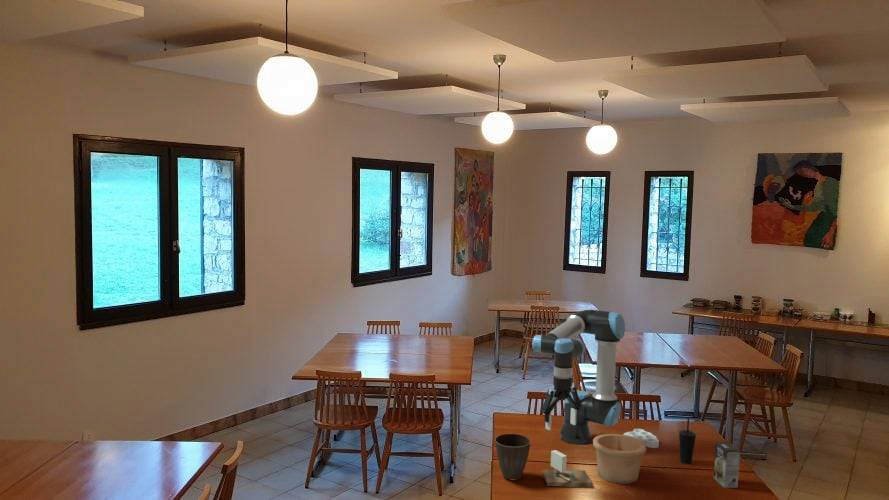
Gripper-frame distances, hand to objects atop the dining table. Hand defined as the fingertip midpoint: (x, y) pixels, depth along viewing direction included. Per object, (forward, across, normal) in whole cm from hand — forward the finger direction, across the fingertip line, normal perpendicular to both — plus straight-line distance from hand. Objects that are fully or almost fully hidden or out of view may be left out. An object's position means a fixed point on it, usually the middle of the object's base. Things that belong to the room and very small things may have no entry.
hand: (560, 426), depth 269 cm
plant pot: (+23, -16, +12) cm, 30 cm away
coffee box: (+23, +61, -35) cm, 74 cm away
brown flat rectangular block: (+23, +3, -2) cm, 23 cm away
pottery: (+23, +26, -8) cm, 36 cm away
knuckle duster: (+23, +66, +15) cm, 72 cm away
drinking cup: (+23, +64, -13) cm, 69 cm away
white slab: (+20, 0, -2) cm, 20 cm away
